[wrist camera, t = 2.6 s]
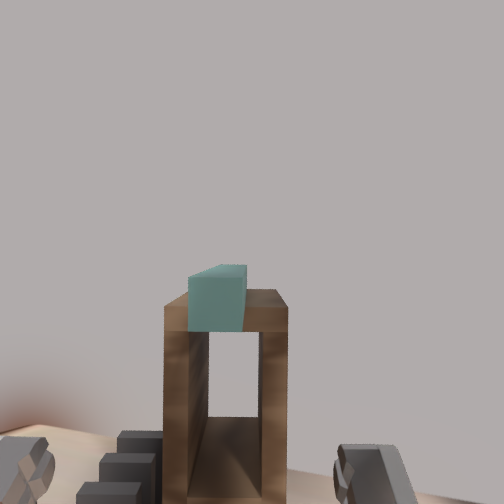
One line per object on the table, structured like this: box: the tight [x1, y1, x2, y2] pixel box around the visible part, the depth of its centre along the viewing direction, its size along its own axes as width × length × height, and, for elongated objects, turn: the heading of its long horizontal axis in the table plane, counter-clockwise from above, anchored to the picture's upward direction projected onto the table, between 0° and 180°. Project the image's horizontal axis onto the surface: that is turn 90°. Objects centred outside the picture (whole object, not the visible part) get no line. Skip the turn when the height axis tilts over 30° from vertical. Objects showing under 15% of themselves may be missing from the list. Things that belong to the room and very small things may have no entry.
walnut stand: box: [162, 289, 288, 504], centre depth 35 cm, size 10×14×26 cm
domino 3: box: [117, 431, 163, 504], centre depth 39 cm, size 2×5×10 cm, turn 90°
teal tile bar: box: [188, 265, 247, 332], centre depth 30 cm, size 3×21×3 cm, turn 0°
